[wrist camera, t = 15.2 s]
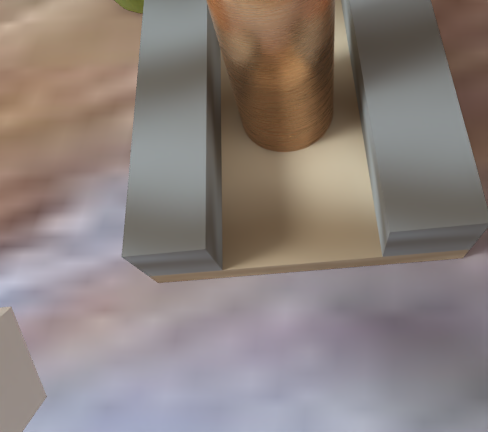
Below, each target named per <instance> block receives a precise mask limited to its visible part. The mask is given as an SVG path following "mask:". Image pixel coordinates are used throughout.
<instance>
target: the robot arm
mask: <svg viewBox="0 0 488 432" xmlns="http://www.w3.org/2000/svg"><path fill="white" fill-rule="evenodd" d="M46 397H47V396H46V393H45V391H44V388H43V386H42V383H41V381H40V378H39V376H38V373H37V371H36V368H35V366H34V363H33V360H32V358H31V355H30V353H29V350H28V348H27V345H26V343H25V340H24V338H23V335H22V333H21V330H20V328H19V325H18V323H17V320H16V317H15V315H14V312H13V310H12V307H2V308H0V432H22V431H23V430H24V429H25V427H26V426H27V424H28V423H29V421H30V420H31V419H32V417H33V416H34V414H35V413H36V411H37V410H38V409H39V407H40V406H41V404H42V403H43V401H44V400H45V399H46Z"/></svg>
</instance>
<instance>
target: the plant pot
mask: <svg viewBox="0 0 488 432" xmlns="http://www.w3.org/2000/svg"><path fill="white" fill-rule="evenodd" d="M115 1H116V2H117V3H118V4H119V5H120V6H122V7H123V8H124V9H127V10H129V11H133V12H137V13H143V7H144V0H115Z"/></svg>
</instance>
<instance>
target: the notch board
mask: <svg viewBox="0 0 488 432" xmlns="http://www.w3.org/2000/svg"><path fill="white" fill-rule="evenodd" d="M487 228H488V207H487V203H486V200H485V196H484V193H483V189H482V185H481V182H480V178H479V174H478V171H477V167H476V163H475V160H474V156H473V153H472V149H471V145H470V142H469V138H468V134H467V131H466V127H465V123H464V120H463V116H462V113H461V109H460V105H459V102H458V98H457V94H456V91H455V87H454V83H453V80H452V76H451V73H450V69H449V65H448V62H447V58H446V54H445V51H444V47H443V43H442V40H441V36H440V33H439V29H438V25H437V22H436V18H435V14H434V11H433V7H432V3H431V0H335V36H334V95H333V117H332V121H331V124H330V126H329V128H328V129H327V131H326V132H325V134H324V135H323V136H322V137H321V138H320V139H319V140H317V141H316V142H315V143H313V144H311V145H310V146H308V147H305V148H303V149H300V150H296V151H291V152H277V151H271V150H268V149H265V148H263V147H260V146H259V145H257V144H256V143H254V142H253V141H252V140H251V139H250V138H249V137H248V135H247V134H246V132H245V130H244V128H243V124H242V121H241V118H240V114H239V111H238V107H237V104H236V100H235V97H234V94H233V90H232V87H231V83H230V80H229V76H228V73H227V70H226V66H225V63H224V59H223V56H222V52H221V49H220V46H219V42H218V39H217V35H216V32H215V29H214V25H213V22H212V18H211V15H210V11H209V8H208V5H207V1H206V0H144V7H143V18H142V30H141V41H140V53H139V64H138V76H137V87H136V99H135V110H134V122H133V133H132V145H131V156H130V168H129V179H128V191H127V202H126V214H125V225H124V237H123V249H122V257H123V258H124V259H125V260H127V261H128V262H130V263H131V264H132V265H134V266H135V267H137V268H138V269H139V270H141V271H142V272H144V273H145V274H146V275H148V276H149V277H151V278H152V279H153V280H155V281H156V282H158V283H163V282H176V281H188V280H200V279H212V278H225V277H237V276H249V275H262V274H274V273H286V272H299V271H311V270H323V269H335V268H348V267H360V266H372V265H385V264H397V263H409V262H422V261H434V260H446V259H458V258H463V257H464V256H465V255H466V253H467V252H468V251H469V250H470V249H471V247H472V246H473V245H474V244H475V243H476V241H477V240H478V239H479V238H480V236H481V235H482V234H483V233H484V232H485V230H486V229H487Z"/></svg>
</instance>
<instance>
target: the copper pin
mask: <svg viewBox="0 0 488 432" xmlns="http://www.w3.org/2000/svg"><path fill="white" fill-rule="evenodd" d="M206 1H207V5H208V8H209V11H210V15H211V18H212V22H213V25H214V29H215V32H216V35H217V39H218V42H219V46H220V49H221V52H222V56H223V59H224V63H225V66H226V70H227V73H228V76H229V80H230V83H231V87H232V90H233V94H234V97H235V100H236V104H237V107H238V111H239V114H240V118H241V121H242V124H243V128H244V130H245V132H246V134H247V135H248V137H249V138H250V139H251V140H252V141H253V142H254V143H256V144H257V145H259V146H260V147H263V148H265V149H268V150H271V151H277V152H291V151H296V150H300V149H303V148H305V147H308V146H310V145H311V144H313V143H315V142H316V141H317V140H319V139H320V138H321V137H322V136H323V135H324V134H325V132H326V131H327V129H328V128H329V126H330V124H331V121H332V117H333V95H334V36H335V0H206Z"/></svg>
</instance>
